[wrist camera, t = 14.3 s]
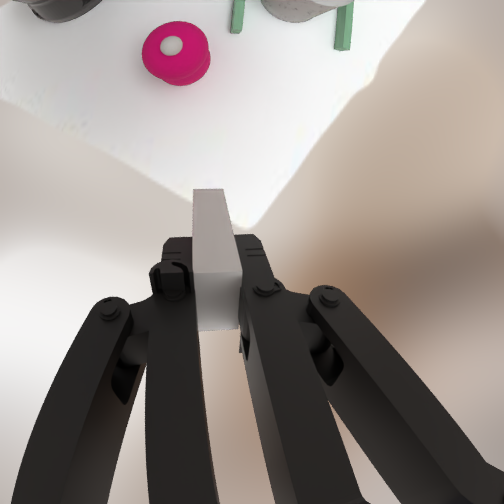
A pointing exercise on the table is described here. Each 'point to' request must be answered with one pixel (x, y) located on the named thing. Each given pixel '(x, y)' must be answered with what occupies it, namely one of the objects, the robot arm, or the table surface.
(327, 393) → the robot arm
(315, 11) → the concrete cylinder
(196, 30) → the pepper mill
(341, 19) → the putting stop
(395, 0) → the table surface
